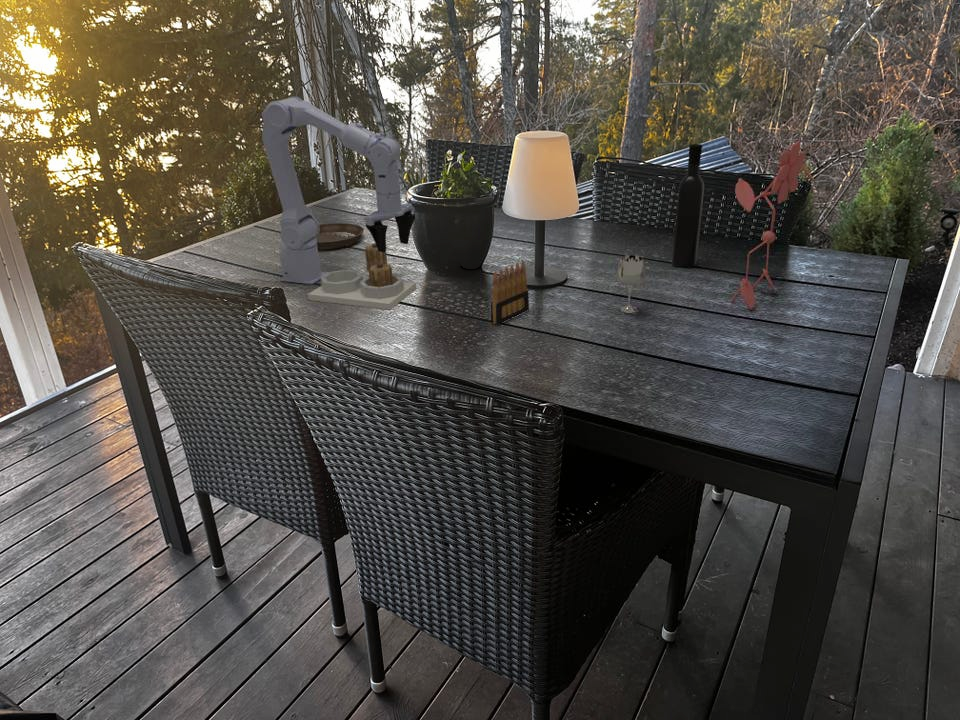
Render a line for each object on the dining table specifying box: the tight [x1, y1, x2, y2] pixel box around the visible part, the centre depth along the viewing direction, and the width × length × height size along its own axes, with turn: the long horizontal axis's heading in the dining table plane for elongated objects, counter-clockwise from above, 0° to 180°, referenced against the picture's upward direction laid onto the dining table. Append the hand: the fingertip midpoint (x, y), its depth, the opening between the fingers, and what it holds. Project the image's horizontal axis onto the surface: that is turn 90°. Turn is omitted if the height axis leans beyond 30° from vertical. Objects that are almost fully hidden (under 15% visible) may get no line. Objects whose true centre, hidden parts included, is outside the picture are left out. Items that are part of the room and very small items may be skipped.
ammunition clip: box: [490, 260, 530, 326], centre depth 150 cm, size 11×2×12 cm, turn 136°
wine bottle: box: [671, 143, 705, 268], centre depth 173 cm, size 6×6×30 cm
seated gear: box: [367, 263, 393, 287], centre depth 165 cm, size 5×5×7 cm
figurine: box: [730, 139, 816, 310], centre depth 146 cm, size 15×26×35 cm, turn 133°
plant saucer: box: [316, 222, 365, 250], centre depth 209 cm, size 21×21×3 cm
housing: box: [307, 269, 417, 311], centre depth 168 cm, size 22×14×4 cm, turn 69°
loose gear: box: [364, 243, 388, 270], centre depth 184 cm, size 5×5×7 cm
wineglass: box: [616, 254, 646, 313], centre depth 151 cm, size 6×6×12 cm
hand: (393, 247), depth 170 cm, fingers open, 7 cm apart
